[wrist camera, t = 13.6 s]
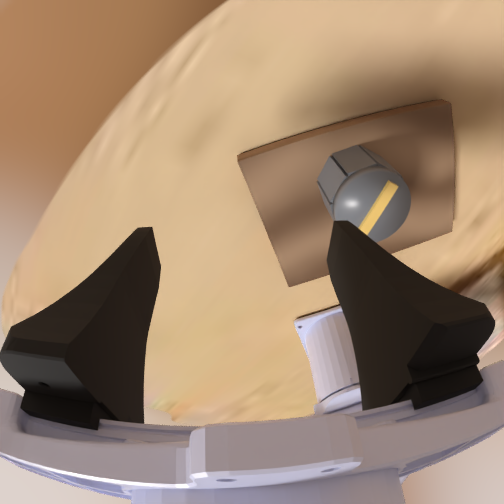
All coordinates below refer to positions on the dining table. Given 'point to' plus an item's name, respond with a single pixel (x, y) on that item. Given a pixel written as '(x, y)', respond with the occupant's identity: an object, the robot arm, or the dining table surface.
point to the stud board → (322, 146)
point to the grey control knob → (364, 192)
